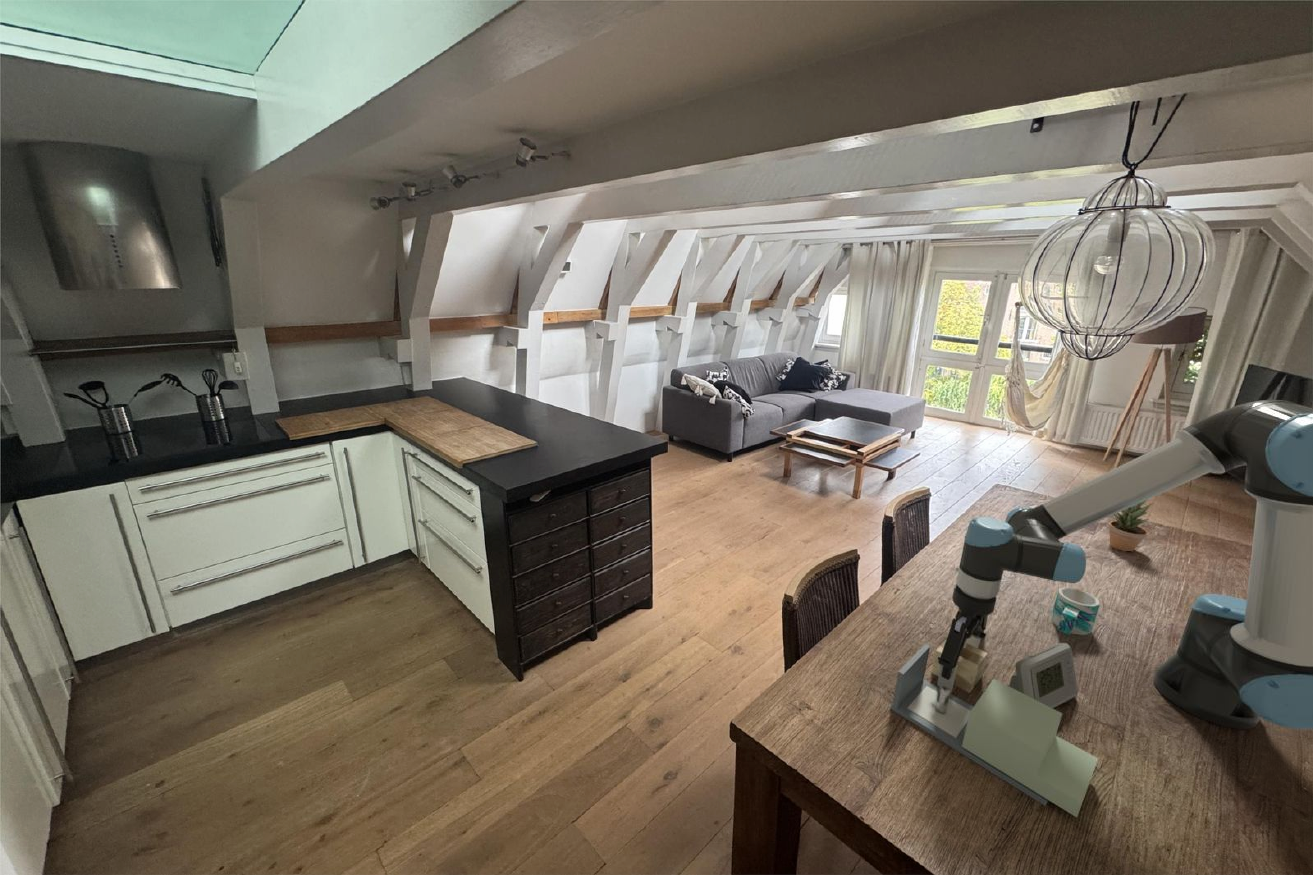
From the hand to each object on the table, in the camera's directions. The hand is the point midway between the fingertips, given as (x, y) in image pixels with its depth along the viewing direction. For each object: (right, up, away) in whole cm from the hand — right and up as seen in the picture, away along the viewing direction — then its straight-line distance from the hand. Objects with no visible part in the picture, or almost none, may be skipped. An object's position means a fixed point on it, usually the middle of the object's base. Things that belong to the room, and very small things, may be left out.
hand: (956, 673), depth 112 cm
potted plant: (+87, +16, +56) cm, 105 cm away
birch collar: (0, 0, 0) cm, 0 cm away
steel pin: (-10, -3, -11) cm, 15 cm away
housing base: (-6, -5, -15) cm, 17 cm away
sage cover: (0, -5, -21) cm, 22 cm away
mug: (+38, +4, +16) cm, 41 cm away
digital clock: (+14, -3, -7) cm, 15 cm away
